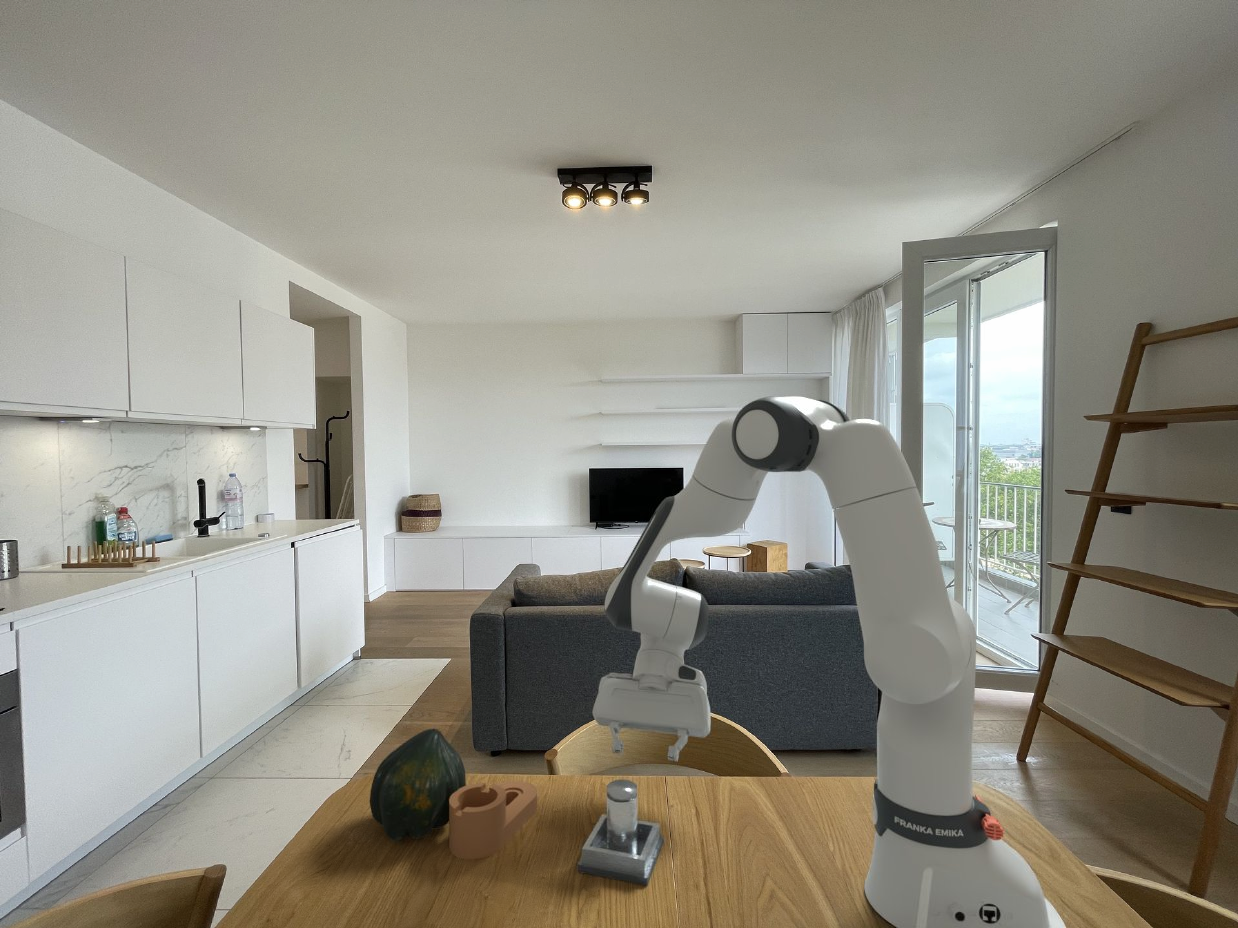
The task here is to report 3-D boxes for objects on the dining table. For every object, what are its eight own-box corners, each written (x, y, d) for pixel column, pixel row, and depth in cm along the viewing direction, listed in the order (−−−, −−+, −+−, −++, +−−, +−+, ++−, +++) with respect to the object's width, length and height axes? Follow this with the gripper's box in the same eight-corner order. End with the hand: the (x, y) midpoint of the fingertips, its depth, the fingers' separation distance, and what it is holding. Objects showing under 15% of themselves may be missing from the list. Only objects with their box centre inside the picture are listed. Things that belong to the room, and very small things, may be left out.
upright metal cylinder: (640, 842, 90) (640, 781, 90) (633, 861, 86) (632, 797, 86) (612, 837, 92) (611, 777, 92) (603, 856, 87) (602, 792, 87)
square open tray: (663, 842, 92) (663, 822, 92) (647, 885, 83) (647, 862, 83) (600, 831, 95) (600, 811, 95) (577, 871, 86) (577, 849, 86)
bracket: (485, 865, 87) (485, 816, 87) (437, 852, 90) (437, 804, 90) (546, 802, 104) (546, 761, 104) (503, 792, 107) (503, 752, 107)
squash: (336, 818, 89) (408, 736, 90) (369, 772, 104) (430, 702, 105) (410, 881, 89) (481, 799, 91) (432, 826, 104) (492, 756, 106)
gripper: (598, 663, 111) (579, 740, 102) (711, 673, 105) (703, 755, 96) (606, 679, 115) (589, 755, 106) (715, 690, 109) (707, 771, 100)
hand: (644, 755), depth 101 cm, fingers open, 8 cm apart
